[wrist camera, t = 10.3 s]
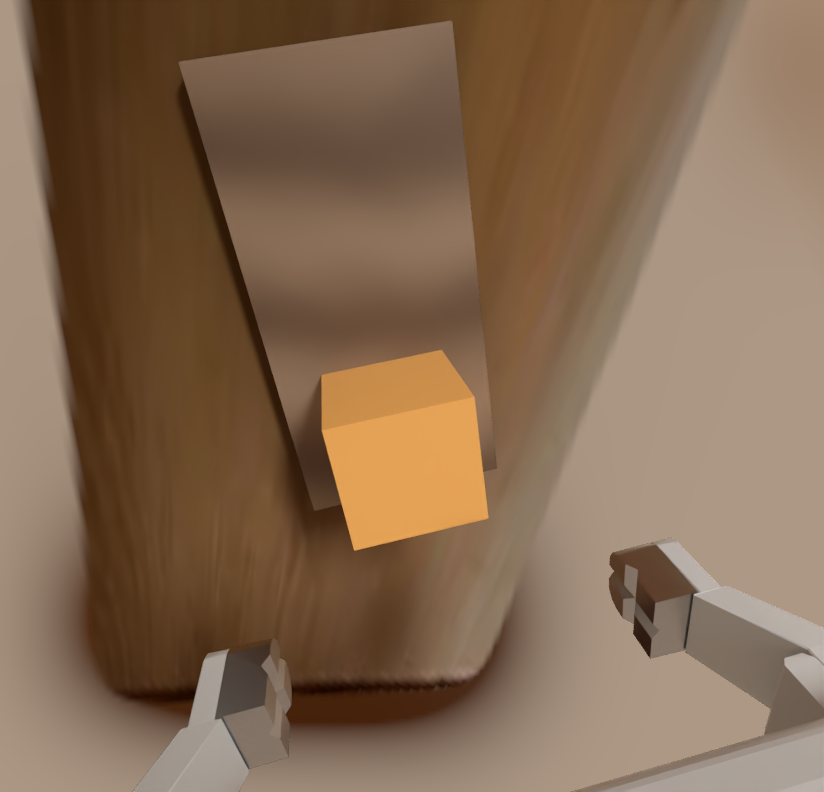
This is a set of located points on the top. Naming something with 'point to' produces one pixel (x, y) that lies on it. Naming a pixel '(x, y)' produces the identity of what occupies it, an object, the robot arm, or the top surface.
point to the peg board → (347, 213)
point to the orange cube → (403, 448)
